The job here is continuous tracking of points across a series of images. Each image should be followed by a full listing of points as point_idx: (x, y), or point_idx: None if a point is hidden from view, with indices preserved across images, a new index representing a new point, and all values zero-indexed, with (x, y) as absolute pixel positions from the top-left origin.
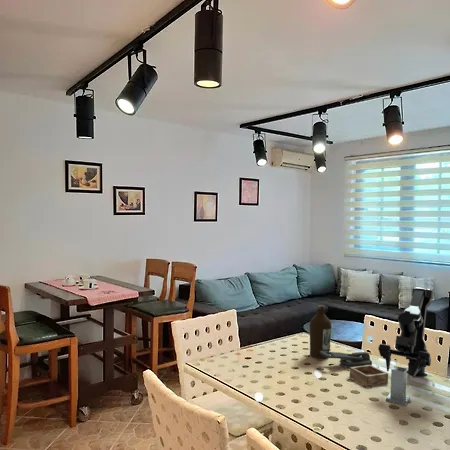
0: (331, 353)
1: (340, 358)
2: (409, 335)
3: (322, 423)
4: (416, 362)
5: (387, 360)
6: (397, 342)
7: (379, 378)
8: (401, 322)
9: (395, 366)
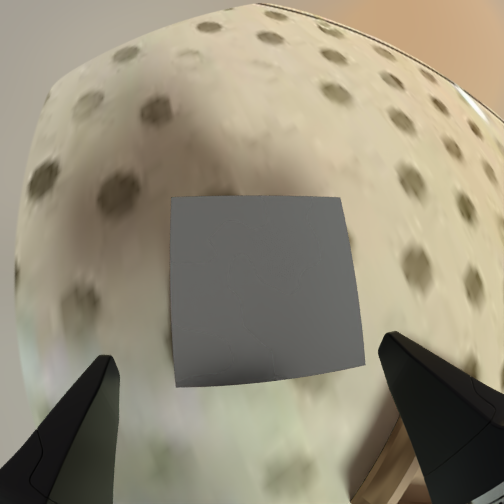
0: None
1: None
2: None
3: (332, 37)
4: (31, 501)
5: (471, 389)
6: None
7: (395, 463)
8: None
9: (345, 348)
